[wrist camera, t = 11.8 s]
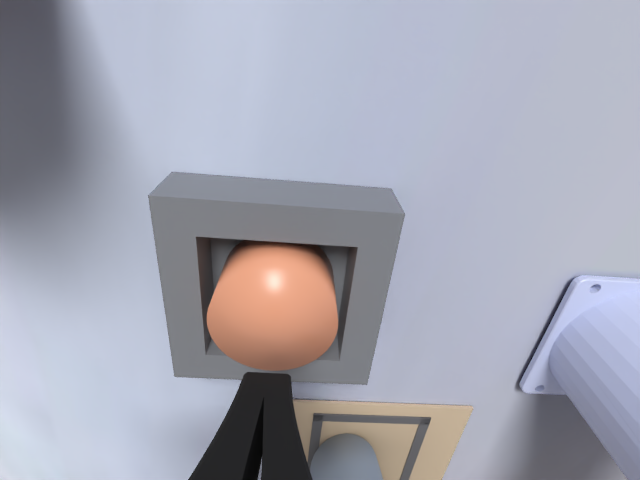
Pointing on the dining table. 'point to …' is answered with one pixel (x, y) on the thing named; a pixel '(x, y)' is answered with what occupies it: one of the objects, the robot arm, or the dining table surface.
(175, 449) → the dining table surface
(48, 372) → the dining table surface
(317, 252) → the button
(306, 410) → the tan rectangular board
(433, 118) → the dining table surface
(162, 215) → the button base
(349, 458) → the squeeze tube
